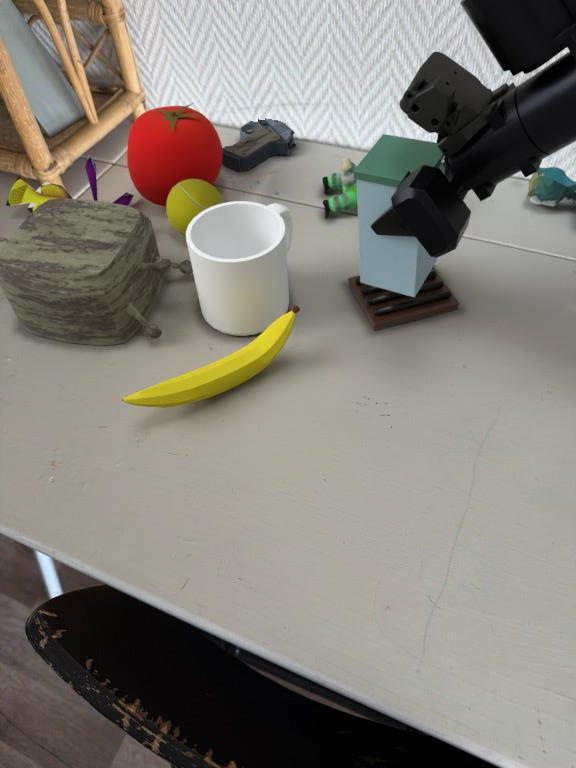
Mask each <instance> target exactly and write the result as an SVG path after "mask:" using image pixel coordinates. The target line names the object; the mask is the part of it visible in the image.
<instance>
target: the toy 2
mask: <svg viewBox="0 0 576 768" xmlns="http://www.w3.org/2000/svg"><path fill="white" fill-rule="evenodd" d="M357 166H358V165H356V164H355V163H354V162H352V160H351V159H350V158H349V157H343V158H342V160H341V168H340V172H333V173H331V174H330V175H329V176H323V177H322V179H321V182H322V186H323V189H324V190H323V193H324V195H325V196H326V195H329V194H330V193H329V192H330V191H329V189H332V190H333V189H334V190H338V189H342V193H341V194H340V195H335V194H334V195H333V196H331V198H329V199H323V200H322V205H323V208H324V209H323V210H324V218H325V219H328V218H329V217H330V212H334V213H340V212H343V211H349V210H351V209H353V208H356V207H358V204H357V179H354V176H353V171H354V169H355V168H356V167H357Z"/></svg>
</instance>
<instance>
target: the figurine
mask: <svg viewBox="0 0 576 768" xmlns="http://www.w3.org/2000/svg"><path fill="white" fill-rule="evenodd" d="M527 191H528V192H527V200H528V198H530V199H529V201H530V202H531V203H532V204H535V205H536V206H539V205H541V206H542V205H544V206H549V207H555V206H557V205H558V204H559V203H560V202H561V201H563V200H564V199H566V200H567V201H570V200H572V204H573V205H575V202H576V181H575V180H573V179H571V178H570V177H569V176H568V175H567V174H566V172H565V171H564V170H563V169H562V168H560V167H557V166H551V167H541V165H540V166H539V168H538V171H537V172H535V173H533V174H531V177H530V180H529V181H528V190H527Z"/></svg>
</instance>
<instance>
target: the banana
mask: <svg viewBox="0 0 576 768" xmlns="http://www.w3.org/2000/svg"><path fill="white" fill-rule="evenodd" d="M299 312H300V306H299V305H293V306H292V310H290V311H289V312H288V311H287V312H286V314H284V315H282V316H281V317H280V318H278V319H277V320H276V321H274V322H273V323H272V324H271V325H270V326H269V327H268V328H267V329H266V330H265V331H264V332H261V333H260V334H259V335H258V336H257V337H256V338H255V339H254V340H253V341H251V342H250V343H248V344H247V345H245V346H244V347H242V348H240V349H238V350H237V351H235V352H233V353H231V354H229V355H227V356H225V357H222V358H220V359H218V360H216V361H213V362H212V363H208V364H206V365H204V366H201V367H199V368H197V369H194V370H191V371H189V372H186V373H183V374H180V375H177V376H175V377H172V378H170V379H167V380H164V381H162V382H159V383H156V384H154V385H152V386H149V387H146V388H144V389H142V390H140V391H137V392H135V393H134V392H133V393H131V394H129V395H126V396H124V397H122V398H121V401H122V402H123V403H126V404H129V405H133V406H137V407H146V408H160V409H161V408H163V409H167V408H174V407H180V406H185V405H188V404H192V403H197V402H199V401H202V400H205V399H208V398H211V397H214V396H216V395H219V394H222V393H224V392H227V391H229V390H231V389H234V388H235V387H237V386H240V385H242V384H243V383H245V382H247V381H248V380H250V379H252V378H253V377H255V376H256V375H257V374H259V373H261V372H262V371H263V370H265V368H267V366H269V365H270V364H271V363H272V362H273V361H274V360H275V359H276V357H278V355H279V353H281V351H282V349H284V347H285V345H286V343H287V341H288V339H289V337H290V335H291V332H292V330H293V327H294V324H295V319H296V315H297V313H299Z"/></svg>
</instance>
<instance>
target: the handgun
mask: <svg viewBox="0 0 576 768" xmlns="http://www.w3.org/2000/svg"><path fill="white" fill-rule="evenodd" d="M283 122H284V121H283ZM283 122H281V121H278V120H272V119H266V118H265V120H259V119H258V122H253V121H251V120H249V121H248V122H246V123H244V124H243V125H241V126H240V127H239V136H240V138H241V139H240V140H238V141H237V142H235V143H234V144H232V145H225V146H224V147H223V146H222V152H223V158H222V164H223V165H224V166H227V167H229V168H231V169H233V170H235V171H237V172H241V171H243V172H245V171H246V172H247V171H250V170H251V169H253V168H254V167H256V166H257V165H259V164H260V163H262V162H264V161H265V160H266V159H268V158H270V157H271V156H276V155H282V156H288V155H289V154H290V152H293V149H294V148H296V146H297V144H296V143H295V139H294V135H296V133H297V132H295V131H294V129H293V128H290V127H289V125H288V124H287V123H286V122H284V123H283ZM251 130H255V131H251Z"/></svg>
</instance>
